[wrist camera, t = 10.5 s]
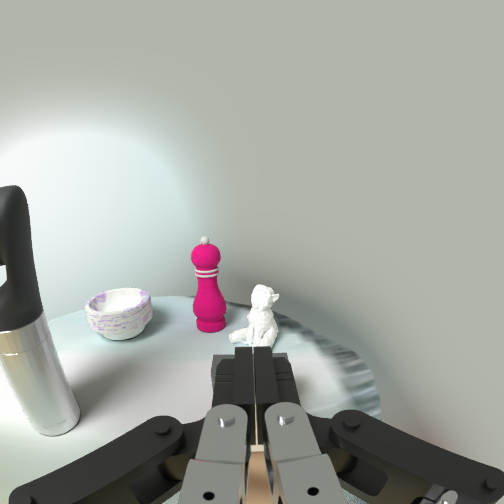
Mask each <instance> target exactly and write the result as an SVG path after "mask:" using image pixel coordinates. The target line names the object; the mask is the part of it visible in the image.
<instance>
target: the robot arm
mask: <svg viewBox="0 0 504 504" xmlns="http://www.w3.org/2000/svg"><path fill="white" fill-rule="evenodd" d="M2 265H6V272H7V281H6V282H5V283H4V284H3V285H2V286H1V287H0V365H1V367H2V369H3V371H4V374H5V376H6V378H7V380H8V382H9V384H10V386H11V388H12V390H13V392H14V394H15V396H16V398H17V400H18V402H19V404H20V406H21V407H22V409H23V411H24V413H25V415H26V416H27V418H28V420H29V421H30V423H31V425H32V426H33V428H34V429H35V430H36V431H37V432H39V433H41V434H43V435H48V436H56V435H60V434H63V433H66V432H67V431H69V430H71V429H72V428H73V427H74V426H75V425H76V424H77V422H78V420H79V418H80V409H79V406H78V404H77V402H76V400H75V398H74V395H73V393H72V391H71V388H70V386H69V383H68V381H67V378H66V376H65V373H64V371H63V368H62V365H61V363H60V360H59V357H58V354H57V352H56V349H55V346H54V343H53V340H52V337H51V333H50V330H49V327H48V324H47V321H46V317H45V313H44V310H43V306H42V302H41V298H40V293H39V287H38V281H37V276H36V271H35V265H34V259H33V251H32V240H31V227H30V216H29V209H28V204H27V199H26V196H25V194H24V192H23V191H22V189H21V188H20V187H19V186H16V185H14V186H13V185H12V186H5V187H1V188H0V266H2ZM254 386H255V390H254ZM255 404H256V418H255ZM256 422H257V440H258V445H264V464H265V469H266V475H267V480H268V485H269V491H270V496H271V503H272V504H348V503H347V501H346V498H345V495H344V493H343V490H342V488H343V489H345V490H346V491H348V492H350V493H351V494H353V495H355V496H357V497H358V498H360V499H362V500H364V501H365V502H367V503H369V504H495V503H496V502H497V501H498V500H499V499H500V498H501V497H502V496H503V495H504V472H503V471H501V470H500V469H497V468H495V467H492V466H488V465H485V464H482V463H479V462H477V461H474V460H471V459H468V458H466V457H463V456H460V455H458V454H455V453H453V452H450V451H447V450H445V449H442V448H440V447H438V446H435V445H433V444H430V443H428V442H425V441H423V440H421V439H419V438H416V437H414V436H412V435H409V434H407V433H405V432H403V431H401V430H399V429H396V428H394V427H392V426H390V425H388V424H386V423H384V422H382V421H380V420H377V419H375V418H373V417H371V416H369V415H367V414H365V413H363V412H361V411H358V410H343V411H340V412H338V413H337V414H335V415H334V416H333V418H332V419H328V418H320V417H315V416H312V415H310V414H308V413H307V412H305V410H304V409H303V408H302V407H301V405H300V401H299V397H298V393H297V389H296V385H295V380H294V376H293V373H292V368H291V364H290V363H289V362H288V361H287V360H286V359H285V357H273V356H272V350H271V346H256V347H254V372H253V353H252V347H235V359H222V360H221V361H220V363H219V364H218V365H217V368H216V376H215V384H214V393H213V401H212V408H211V409H210V410H209V411H208V412H207V414H206V417H205V418H203V419H201V420H199V421H196V422H192V423H187V424H181V423H180V422H179V421H178V420H177V419H175V418H173V417H170V416H156V417H153V418H151V419H149V420H147V421H146V422H144V423H142V424H141V425H139V426H137V427H136V428H134V429H132V430H130V431H129V432H127V433H125V434H124V435H122V436H120V437H118V438H117V439H115V440H113V441H111V442H109V443H108V444H106V445H104V446H102V447H100V448H99V449H97V450H95V451H93V452H91V453H89V454H87V455H85V456H83V457H81V458H80V459H78V460H76V461H74V462H72V463H70V464H68V465H66V466H64V467H62V468H59V469H57V470H55V471H53V472H51V473H49V474H47V475H45V476H42V477H40V478H38V479H36V480H33V481H31V482H29V483H27V484H24V485H22V486H19V487H17V488H16V489H14V490H13V491H12V493H11V494H10V496H9V504H162V503H163V502H165V501H166V500H167V499H169V498H170V497H172V496H173V495H174V494H176V493H177V492H178V491H180V490H181V492H180V496H179V500H178V504H247V490H248V477H249V464H250V461H249V460H250V457H251V445H256Z"/></svg>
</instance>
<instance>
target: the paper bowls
mask: <svg viewBox="0 0 504 504" xmlns="http://www.w3.org/2000/svg"><path fill="white" fill-rule="evenodd" d="M85 310H86V315H87V319H88V322H89V326H90V328H91V329H92V330H94V331H95V332H98V333H101V334H102V335H103V336H104V337H106V338H108V339H111V340H125V339H130V338H133V337H135V336H137V335H138V334H140V333H141V332H142V331H143V330H144V328H145V325H146V324H147V323H148V322H149V321H150V320H151V319H152V317H153V311H152V305H151V297H150V295H149V293H148V292H147V291H145V290H143V289H138V288H119V289H114V290H109V291H105V292H102V293H100V294H97V295H95V296H93V297H92V298H90V299H89V300H88V301H87V302H86V304H85Z"/></svg>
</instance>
